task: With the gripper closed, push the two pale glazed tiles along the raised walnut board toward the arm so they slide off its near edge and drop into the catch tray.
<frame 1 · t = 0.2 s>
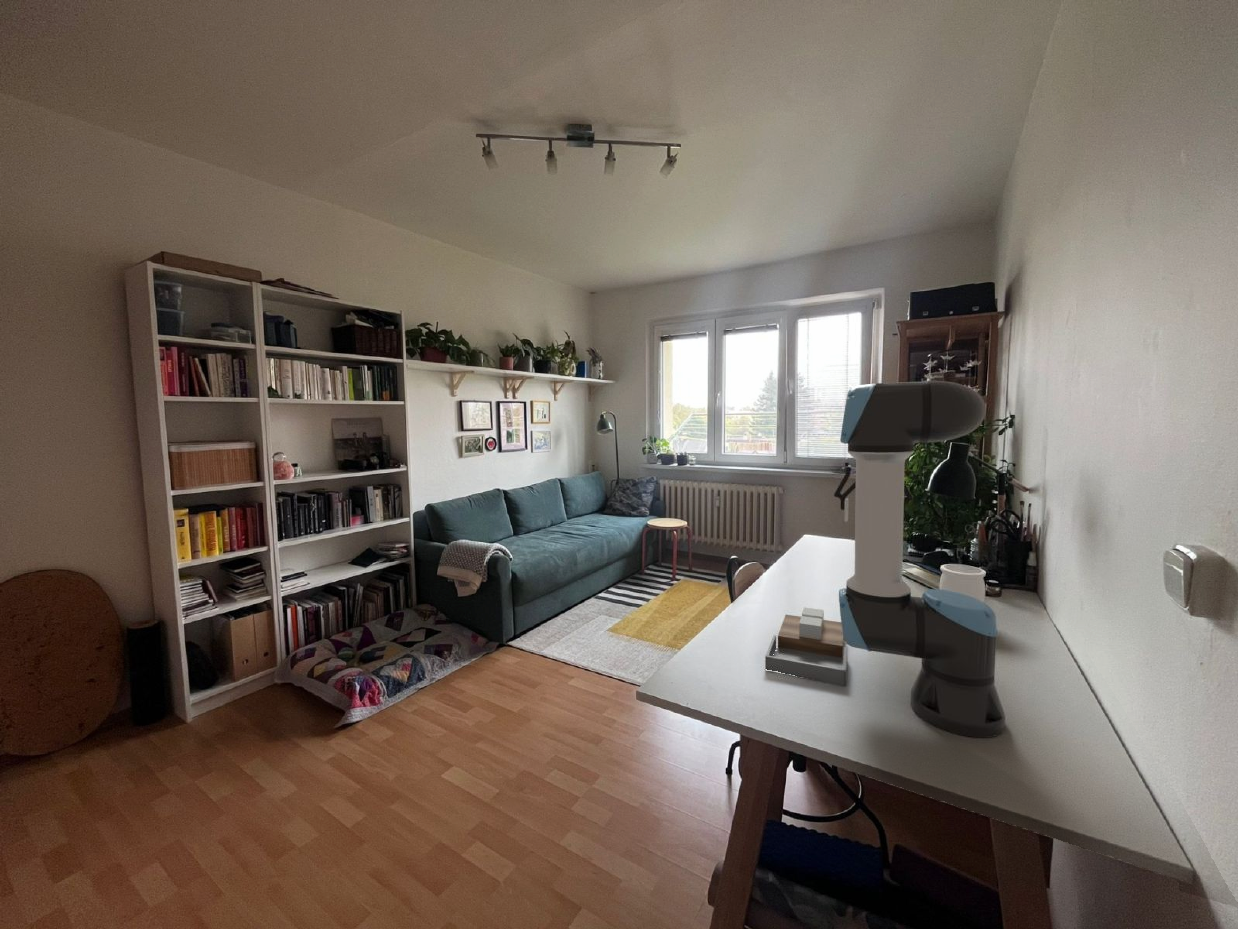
hand: (871, 522, 143), 28 cm above the table, fingers open, 13 cm apart
catch tray: (806, 665, 115), on the table
tile b: (812, 624, 130), point 3 cm above the table, touching board
jar: (960, 621, 139), on the table
tile a: (810, 634, 124), point 3 cm above the table, touching board
board: (811, 642, 128), on the table
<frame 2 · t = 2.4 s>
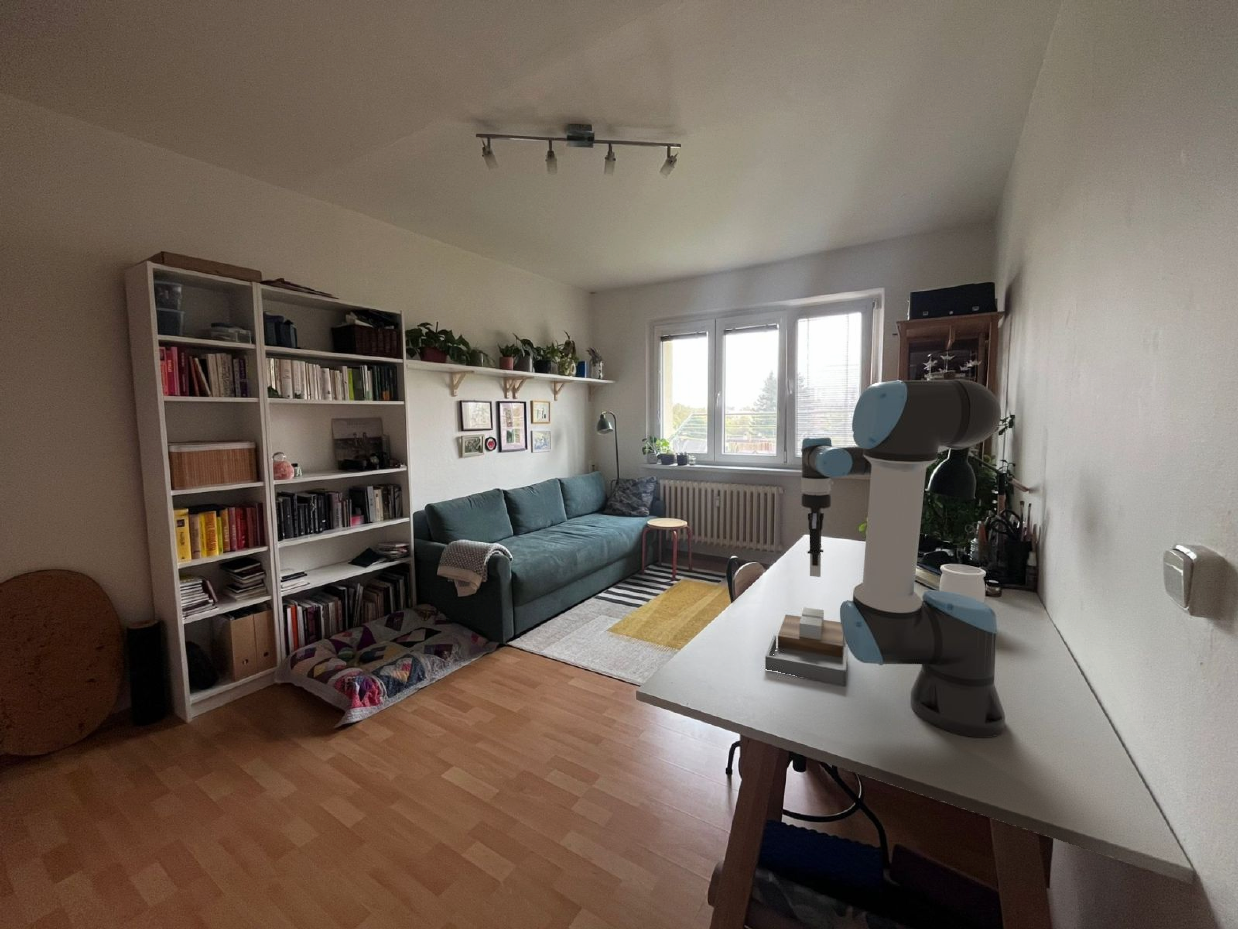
hand: (815, 575, 137), 14 cm above the table, fingers closed
nothing on the table moved.
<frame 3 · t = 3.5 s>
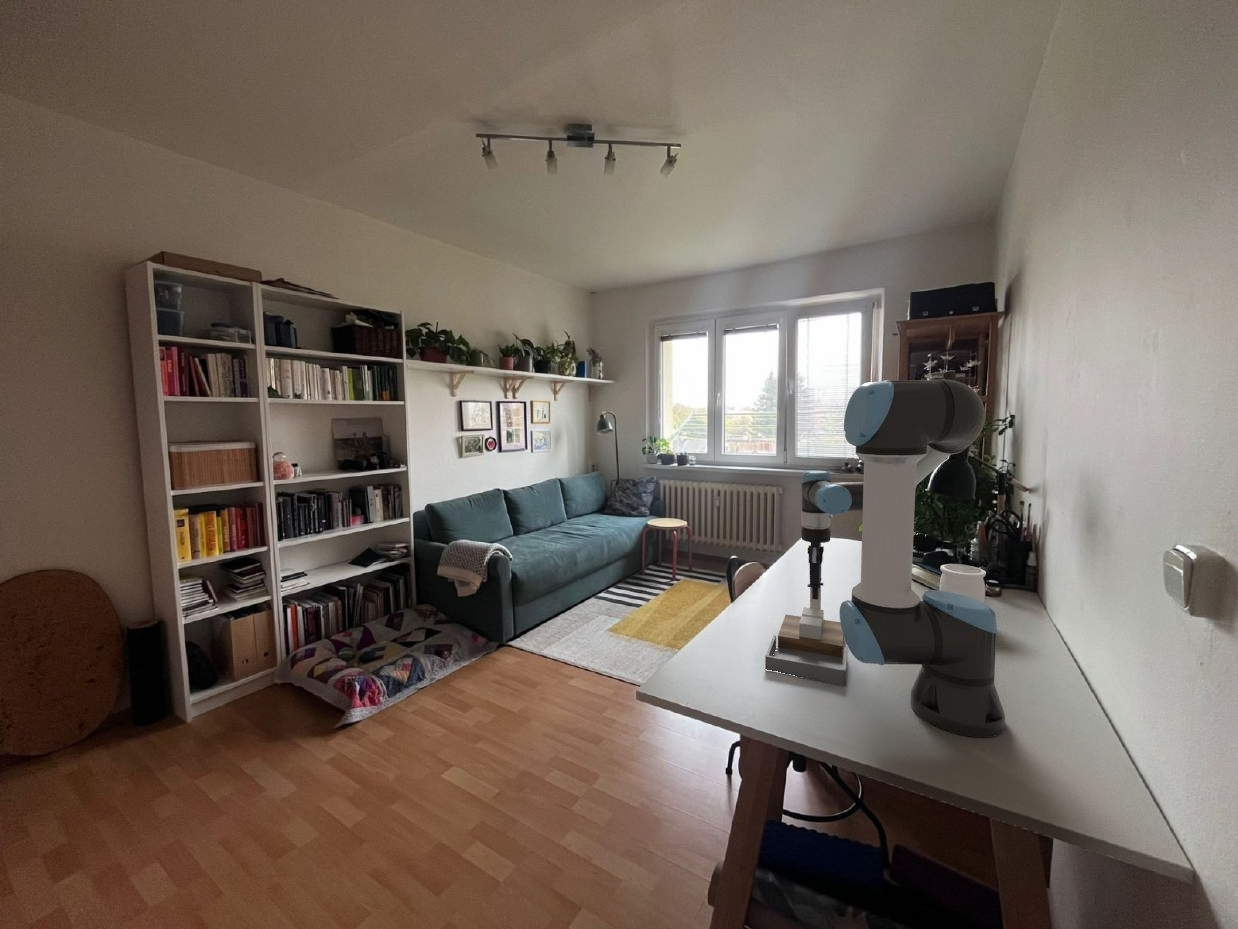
hand: (815, 608, 137), 5 cm above the table, fingers closed
nothing on the table moved.
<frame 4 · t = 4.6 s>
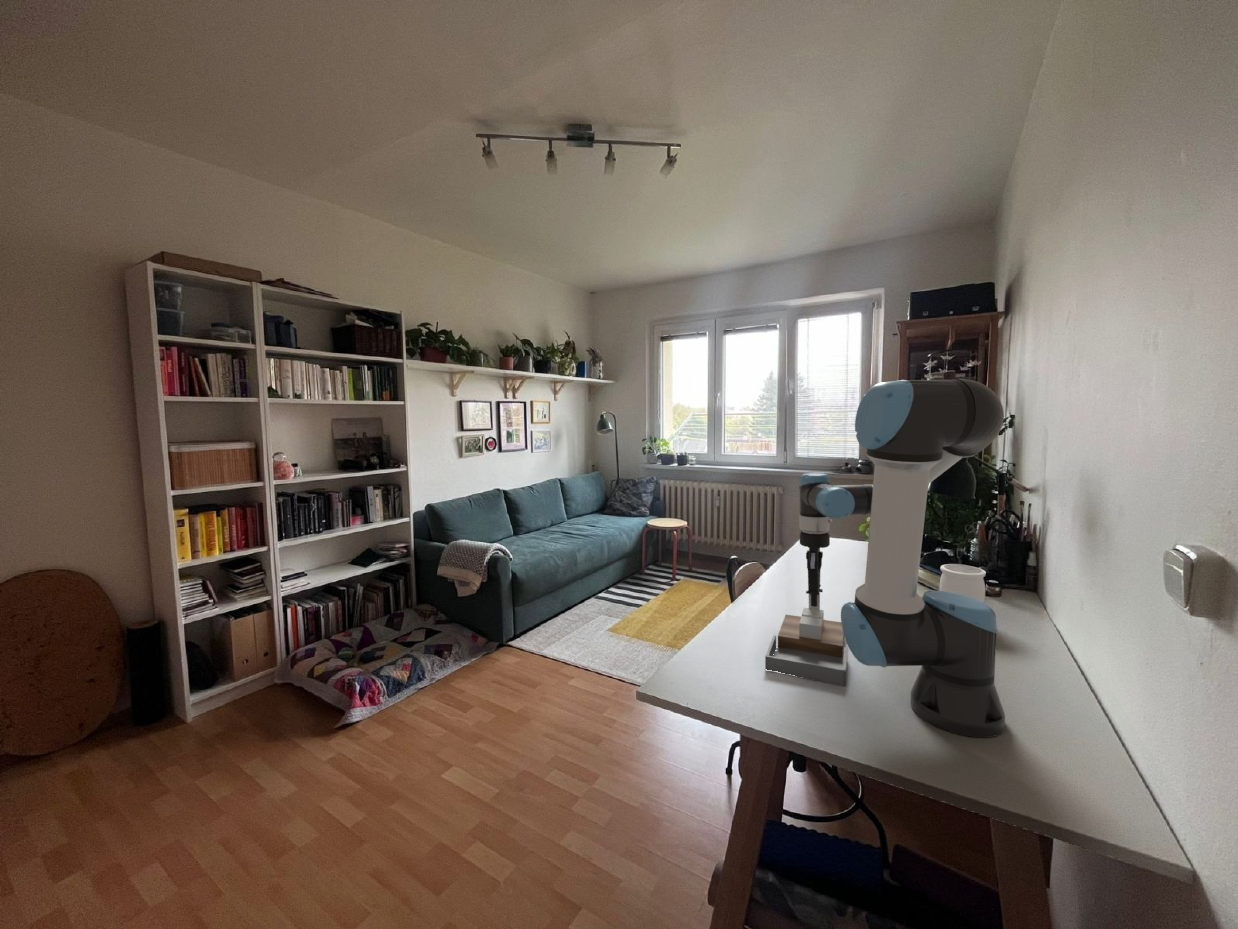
hand: (814, 616, 133), 5 cm above the table, fingers closed
tile b: (812, 625, 130), point 4 cm above the table, touching gripper
everything else where it was.
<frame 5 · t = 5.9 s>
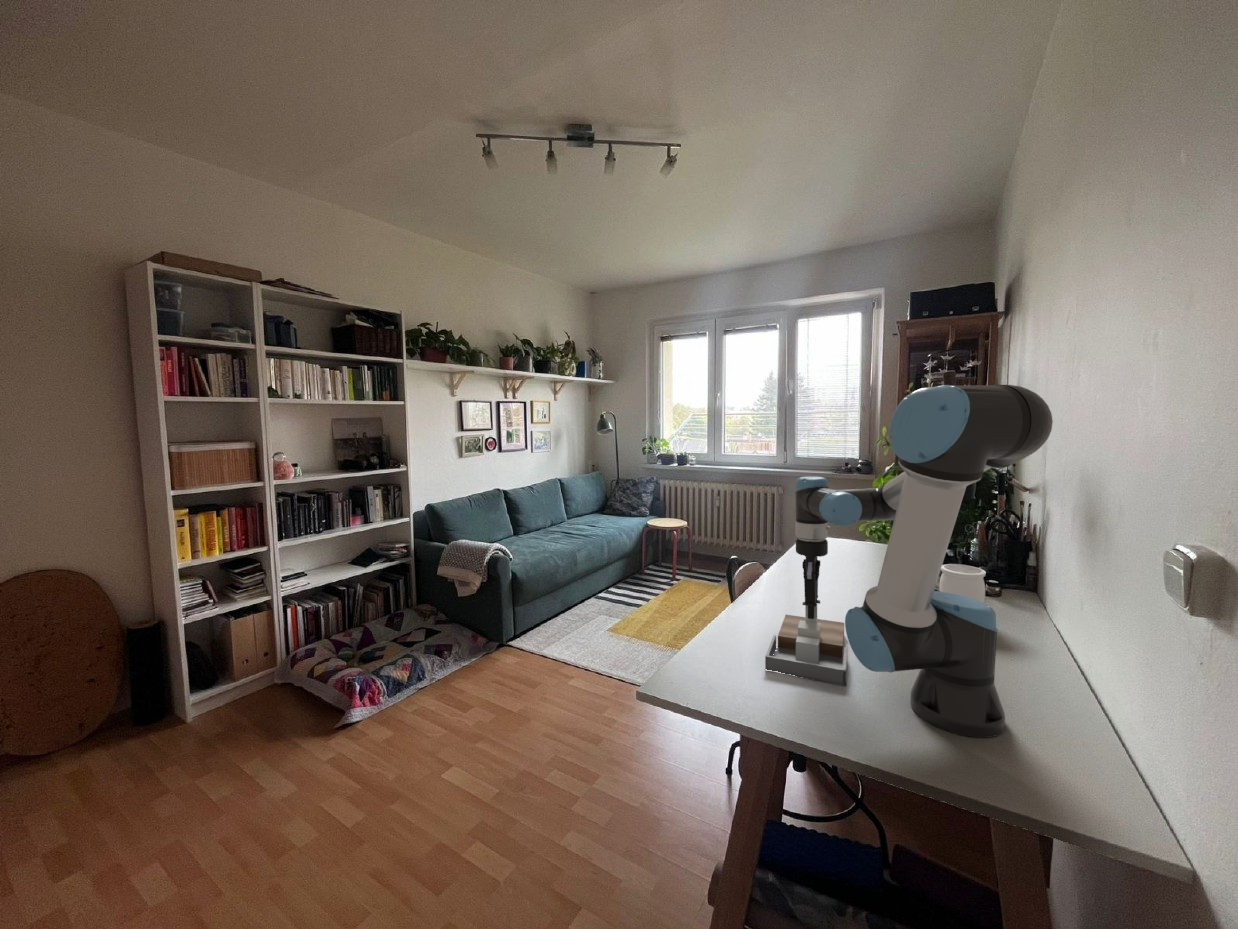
hand: (811, 629, 124), 5 cm above the table, fingers closed
tile b: (809, 639, 122), point 4 cm above the table, touching board, gripper
tile a: (808, 647, 118), point 3 cm above the table, tilted 90°, touching catch tray
everything else where it was.
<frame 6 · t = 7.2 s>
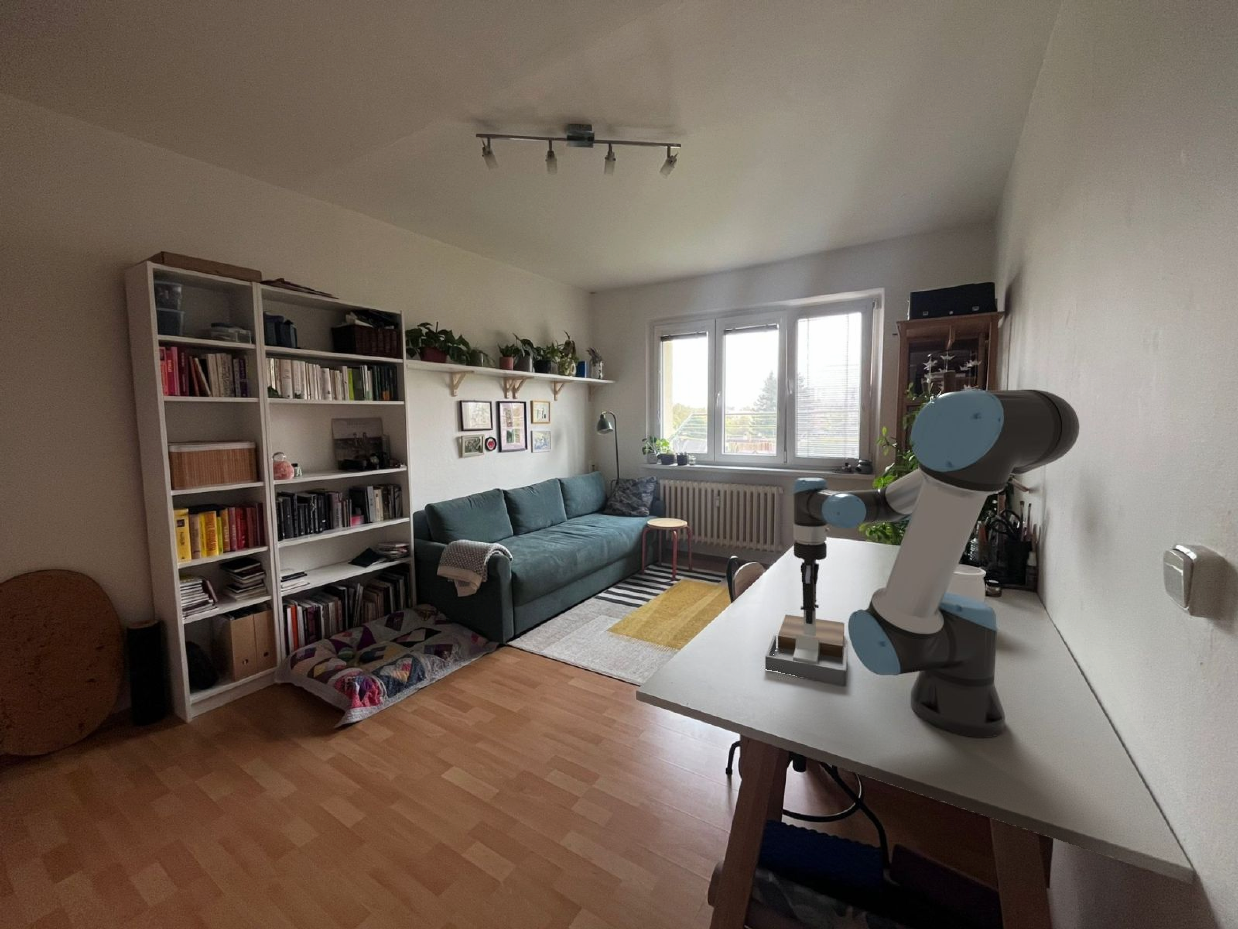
hand: (809, 634, 121), 5 cm above the table, fingers closed
tile b: (807, 654, 117), point 2 cm above the table, tilted 40°, touching catch tray, tile a
tile a: (805, 654, 113), point 4 cm above the table, tilted 180°, touching catch tray, tile b
everything else where it was.
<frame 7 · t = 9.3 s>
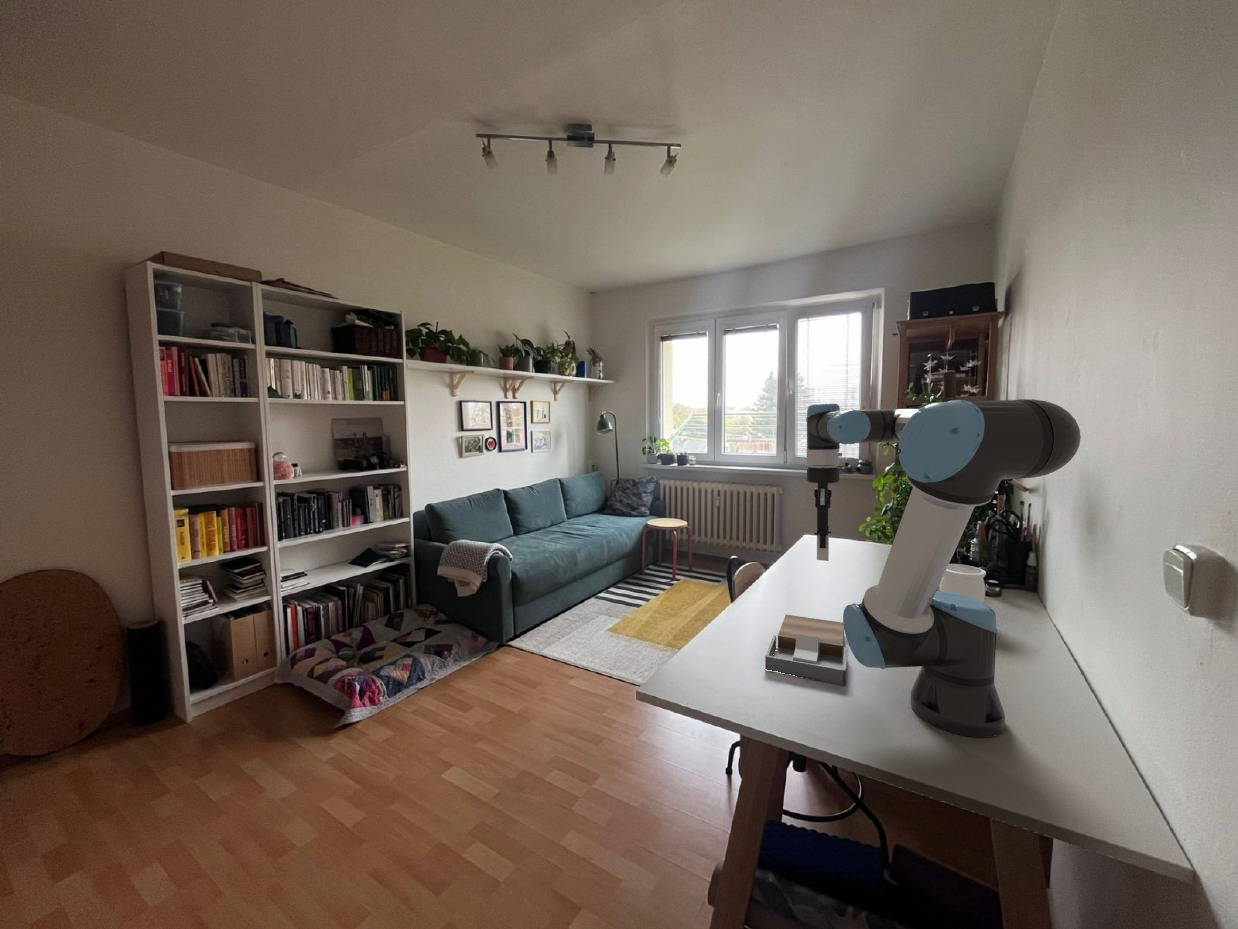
hand: (822, 559, 123), 23 cm above the table, fingers closed
nothing on the table moved.
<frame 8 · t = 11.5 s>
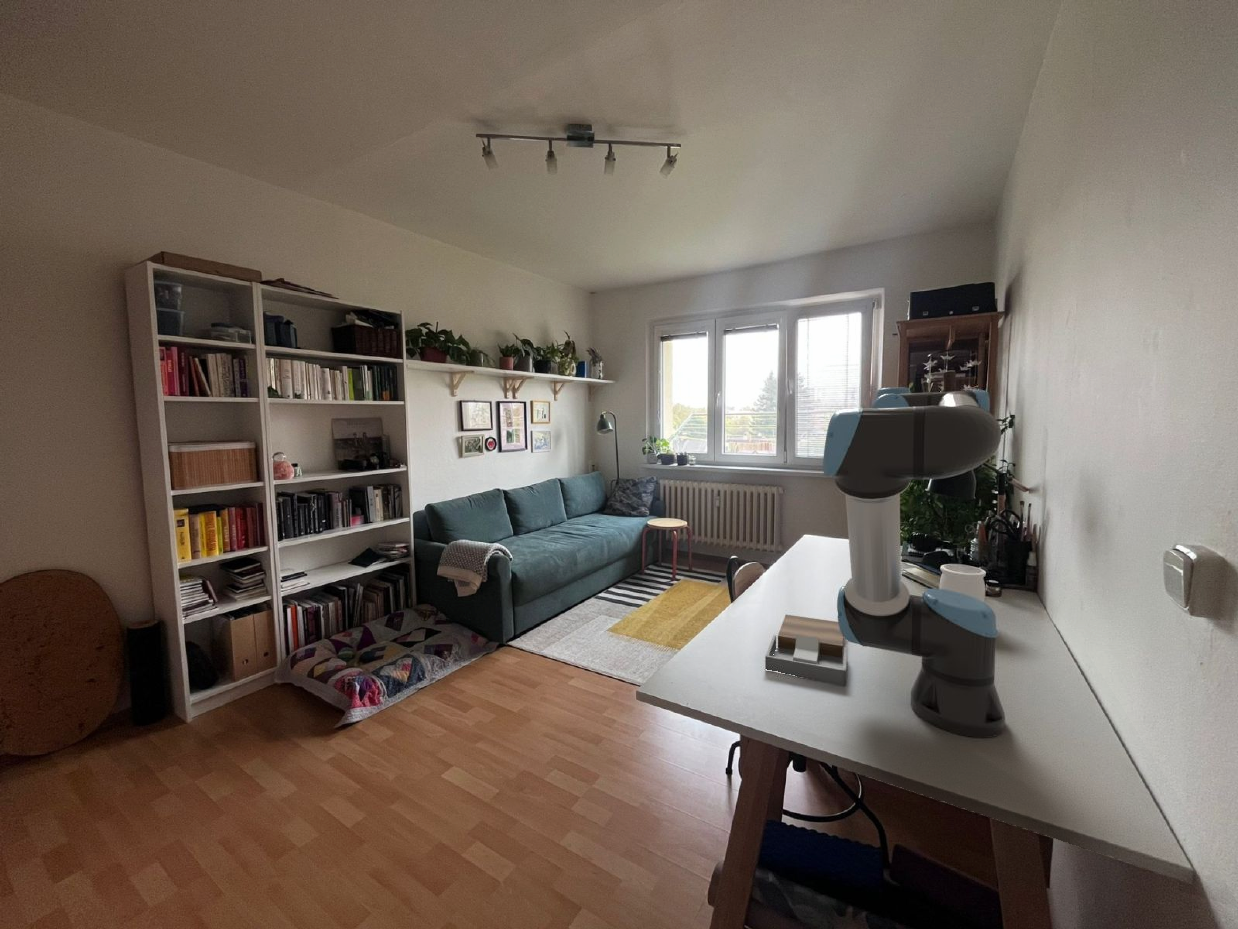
hand: (890, 542, 124), 26 cm above the table, fingers closed
nothing on the table moved.
at the end: tile a inside the target area (2.5 cm from its centre), point 4.0 cm above the table; tile b inside the target area (2.0 cm from its centre), point 2.1 cm above the table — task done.
